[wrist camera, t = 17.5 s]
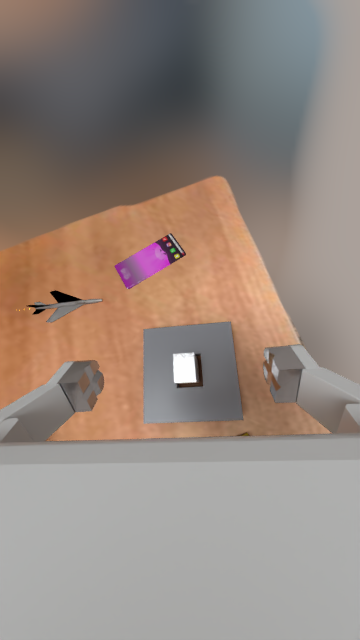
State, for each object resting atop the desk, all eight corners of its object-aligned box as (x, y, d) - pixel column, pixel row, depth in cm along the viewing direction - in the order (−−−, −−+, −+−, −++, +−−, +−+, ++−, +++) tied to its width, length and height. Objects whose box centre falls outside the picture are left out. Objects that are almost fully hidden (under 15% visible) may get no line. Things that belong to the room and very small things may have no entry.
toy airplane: (103, 317, 45) (98, 314, 43) (15, 327, 47) (6, 324, 45) (105, 285, 47) (100, 280, 45) (21, 295, 49) (12, 291, 47)
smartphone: (186, 256, 47) (186, 254, 46) (128, 290, 46) (126, 288, 45) (171, 235, 49) (170, 232, 48) (115, 266, 48) (113, 264, 47)
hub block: (240, 417, 35) (243, 420, 32) (148, 420, 37) (143, 423, 34) (229, 326, 40) (230, 321, 37) (148, 333, 42) (143, 329, 39)
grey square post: (199, 382, 38) (196, 381, 28) (183, 383, 38) (174, 383, 29) (197, 359, 39) (193, 351, 30) (181, 360, 39) (172, 353, 30)
